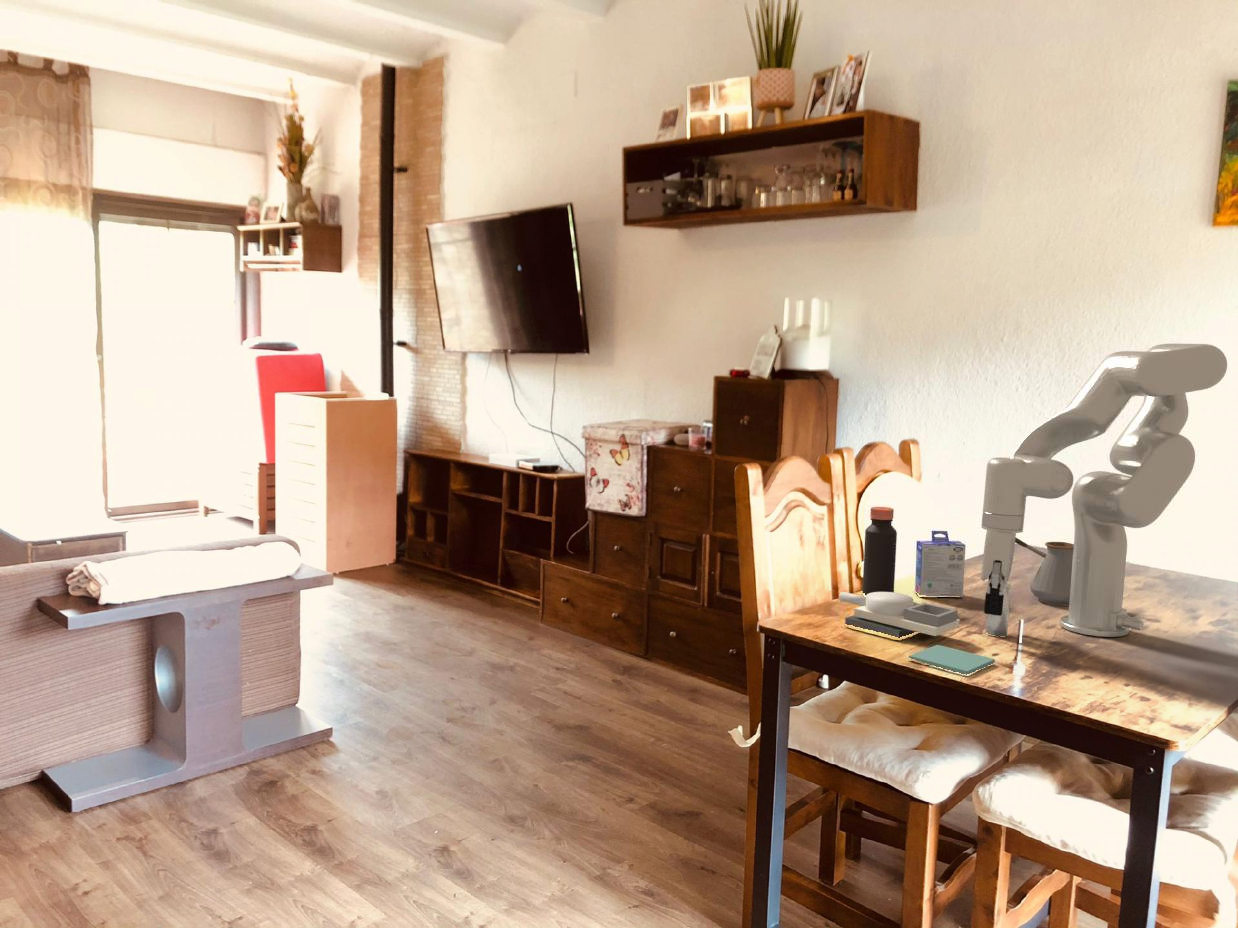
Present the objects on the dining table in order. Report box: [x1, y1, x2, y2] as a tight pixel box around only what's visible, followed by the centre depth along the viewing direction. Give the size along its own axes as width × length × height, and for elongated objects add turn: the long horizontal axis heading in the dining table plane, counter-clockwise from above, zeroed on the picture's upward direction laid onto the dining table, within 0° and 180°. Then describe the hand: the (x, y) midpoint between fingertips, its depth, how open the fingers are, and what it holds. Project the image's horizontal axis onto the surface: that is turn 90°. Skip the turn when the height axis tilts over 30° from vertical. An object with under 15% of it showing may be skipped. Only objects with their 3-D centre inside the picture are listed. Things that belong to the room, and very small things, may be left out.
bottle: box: [861, 506, 898, 595], centre depth 220 cm, size 7×7×20 cm
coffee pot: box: [1015, 537, 1074, 607], centre depth 222 cm, size 21×12×15 cm, turn 53°
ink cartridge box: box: [914, 530, 967, 597], centre depth 222 cm, size 10×6×14 cm, turn 89°
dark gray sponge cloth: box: [844, 614, 917, 638], centre depth 196 cm, size 12×12×2 cm
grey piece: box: [985, 582, 1012, 637], centre depth 193 cm, size 4×4×10 cm
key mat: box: [908, 644, 996, 675], centre depth 176 cm, size 11×10×1 cm
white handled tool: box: [838, 591, 961, 637], centre depth 195 cm, size 24×9×4 cm, turn 43°
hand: (994, 608), depth 193 cm, fingers open, 9 cm apart
